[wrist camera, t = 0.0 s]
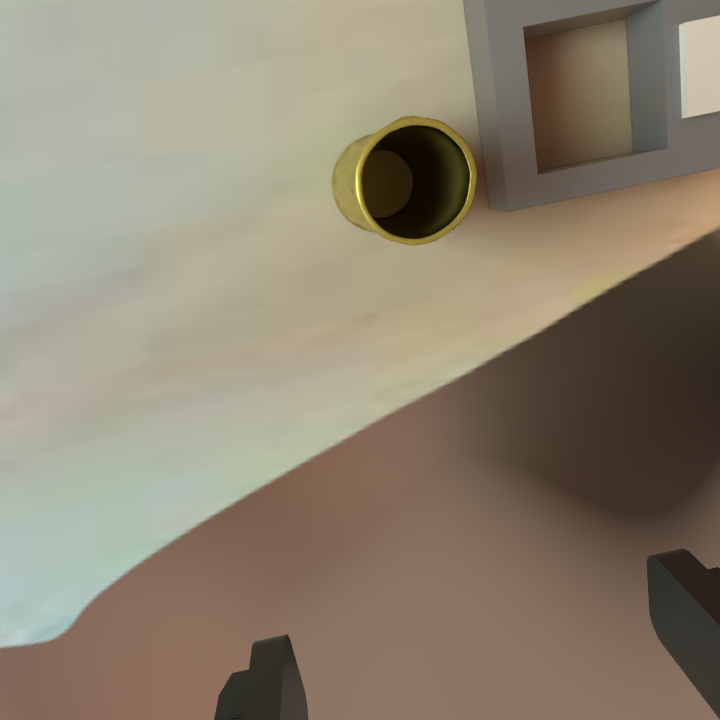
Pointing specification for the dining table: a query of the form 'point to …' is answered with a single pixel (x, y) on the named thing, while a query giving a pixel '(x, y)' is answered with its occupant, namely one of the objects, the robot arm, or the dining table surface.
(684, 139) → the socket block
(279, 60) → the dining table surface
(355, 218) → the vase
